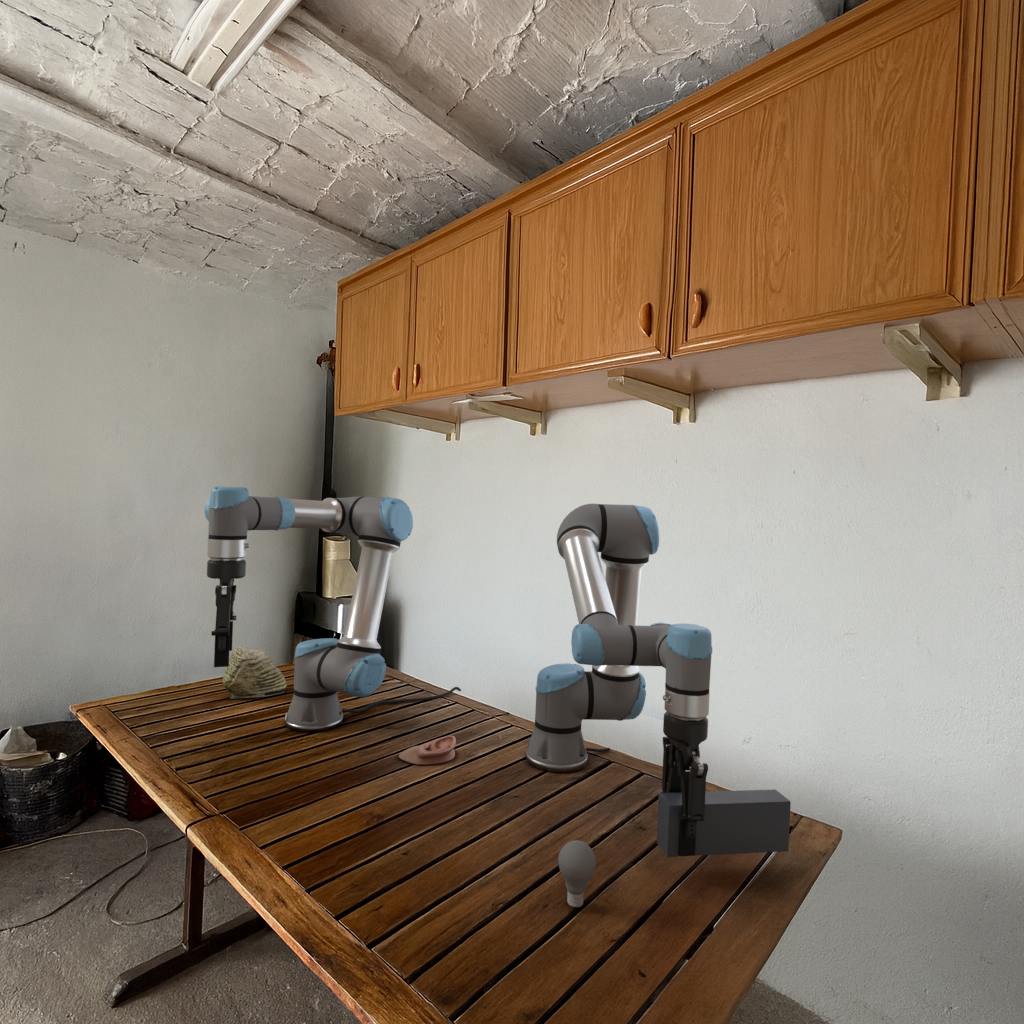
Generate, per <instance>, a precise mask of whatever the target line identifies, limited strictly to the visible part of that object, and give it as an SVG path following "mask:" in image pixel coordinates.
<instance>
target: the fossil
mask: <svg viewBox="0 0 1024 1024" xmlns="http://www.w3.org/2000/svg"><path fill="white" fill-rule="evenodd" d="M222 676H223V677H222V685H223V687H224V688H225V690H226V691H228V693H229V698H230V699H250V698H264V697H271V696H275V695H281V694H284V693H285V691H286V689H287V687H288V686H287V680H286V678H285V676H284V674H283V673H282V672H281V669H279V668H278V667H277V665H276V663H275V662H274V660H273V659H272V658H271V657H270V656H269V655H268V654H267V653H266V652H265V650H264V649H263V648H260V647H258V648H251V647H247V646H246V647H245V646H238V647H237V648H236V649H235V650H233V651H232V653H231V656H229V667H224V671H223V675H222Z"/></svg>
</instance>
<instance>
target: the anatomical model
mask: <svg viewBox="0 0 1024 1024" xmlns="http://www.w3.org/2000/svg"><path fill="white" fill-rule="evenodd" d="M456 745H457V738H456V737H455V735H446V736H443V737H439V738H435V739H433V740H431V741H428V742H425V743H423V744H420V745H413V746H411V747H409V748H407V749H405V750H403V751H402V752H400V753H399V755H398V758H399V759H400V760H402V761H404V762H407V763H409V764H413V765H419V766H420V765H435V764H442V763H446V762H449V761H451V760H453V759H455V757H456V752H455V750H454V749H455V748H456Z"/></svg>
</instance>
